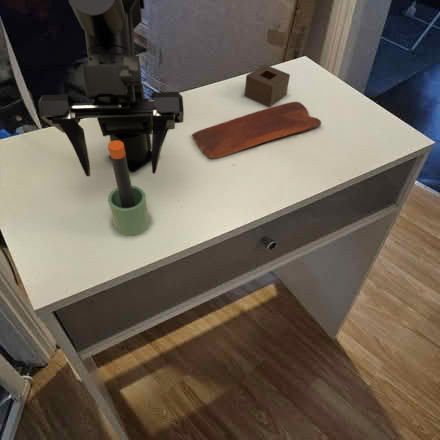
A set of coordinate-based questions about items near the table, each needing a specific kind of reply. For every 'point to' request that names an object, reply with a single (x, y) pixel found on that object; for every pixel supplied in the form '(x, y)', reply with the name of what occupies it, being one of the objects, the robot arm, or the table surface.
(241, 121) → the wooden tablet
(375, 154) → the table surface
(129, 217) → the pen cup
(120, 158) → the stylus
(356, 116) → the table surface
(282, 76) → the pen stand
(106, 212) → the table surface
